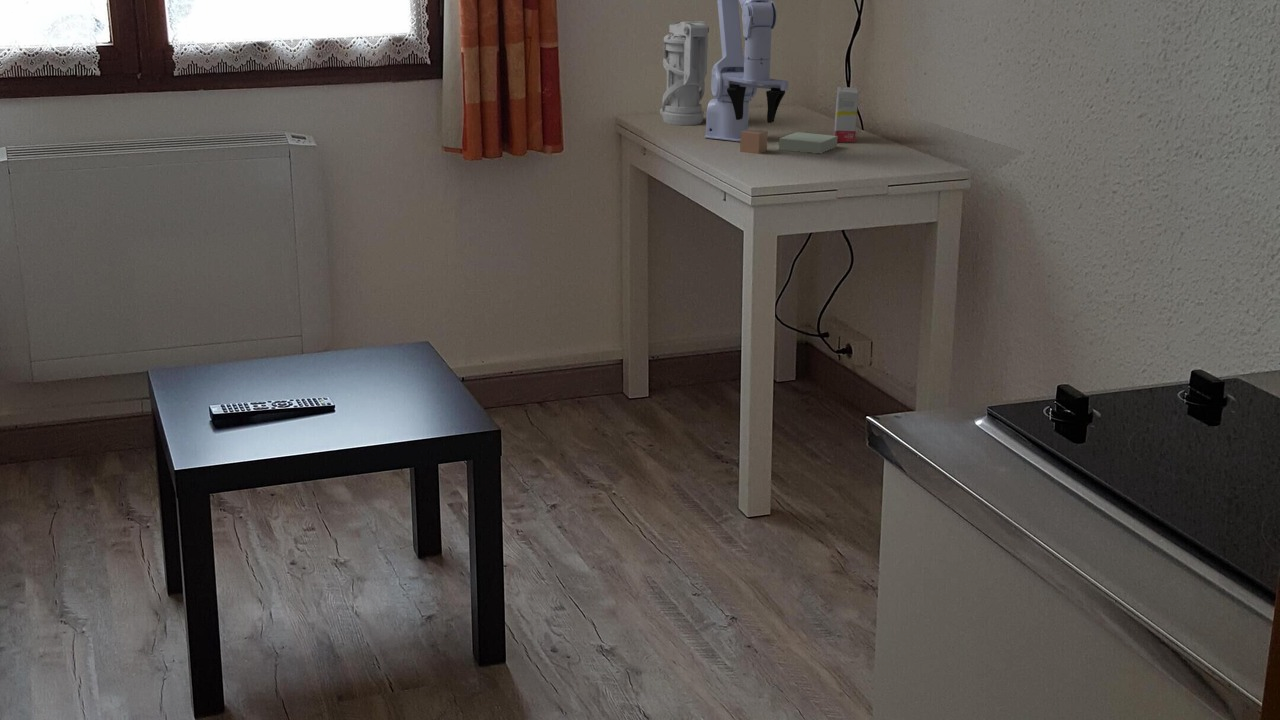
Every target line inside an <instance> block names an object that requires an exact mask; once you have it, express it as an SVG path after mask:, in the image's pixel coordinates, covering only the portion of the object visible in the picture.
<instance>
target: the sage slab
mask: <svg viewBox="0 0 1280 720" xmlns="http://www.w3.org/2000/svg"><path fill="white" fill-rule="evenodd" d="M834 147H836V148H838V142H837V136H834V135H830V134H822V133H819V134H818V133H810V132H809V133H808V132H800V131H796V132H793V133H790V134H787V135H785V136H783V137H779V139H778V150H782V151H789V152H790V151H792V152H798V151H800V153H807V152H812V153H811V154H816V153H821V154H823V153H822V152H824V153H826V152H828V151H827V150H829V149H831V150H833V149H835V148H834ZM832 148H833V149H832ZM825 151H826V152H825ZM829 151H830V150H829Z"/></svg>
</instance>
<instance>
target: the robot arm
mask: <svg viewBox="0 0 1280 720" xmlns="http://www.w3.org/2000/svg"><path fill="white" fill-rule="evenodd" d="M716 1H717V2H716V3H717V12H718V23H719V24H718V25H719V33H720V34H719V35H720V46H721V58H720V60H718V61H717V62H716V63H715V64H714V65H713V66H712V69H711V81H710V89H711V93H712V96H713V98H711V99H710V100H709V102H708V104H707V108H706V120H705V125H706V126H705V135H704V136H703V137H704V139H712V140H713V139H715V140H721V141H722V140H723V141H732V142H740V140H741V132H742V131H745V130H748V129H749V114H750V113H749V112H750V111H749V109H750V102H751V101H752V100H753V98H754V97H755V95H756V94H757V91H758V89H765V90H766V91H765V94H766V100H767V101H766V102H767V115H766V121H767V123H768V124H772V123H774V122H775V118H776V114H777V111H778V108H779V107H780V104H781V101H782V99H783V97H784V96H785V95H786V91H788V90H789V82H790V81H789V80H783V79H782V80H781V79H776V78H770V77H771V76H770V75H771V74H770V73H771V55H772V53H771V50H772V34H773V33H772V30H773V29H774V28H775V26H776V23H777V8H776V7H777V6H776V4H775V2H774V1H771V0H716ZM739 6H740V8H741V10H742V12H741V21H742V24H741V21H740V8H739ZM741 25H742V30H741ZM741 31H742V32H741ZM742 36H743V37H744V55H743V43H742ZM767 123H766V124H767Z"/></svg>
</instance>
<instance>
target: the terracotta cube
mask: <svg viewBox="0 0 1280 720" xmlns="http://www.w3.org/2000/svg"><path fill="white" fill-rule="evenodd" d="M768 132H769V131H768V130H762V129H761V130H759V129H751V128H748V130H745V131H742V132H741V140H740V141H739V143H740V145H739V152H740V153H746V154H757V155H758V154H762V153H764V152H767V151H768Z"/></svg>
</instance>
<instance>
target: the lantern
mask: <svg viewBox="0 0 1280 720" xmlns="http://www.w3.org/2000/svg"><path fill="white" fill-rule="evenodd" d="M707 23H708V22H707V21H699V20H698V21H695V20H693V21H678V22H674V23H670V24H669V29H668V30H669V31H668V32H669V33H668V34H666V35H664V37H663V52H662V55H663V58H662V59H663V60H662V66H663V68H664V70H665V71H666V90H665V91H664V93H663V94H662V97H661V98H662V105H661V108H660V109H659V114H660V115H662V119H663V120H662V121H663V123H665V124H668V125H675V126H696V125H701V124H702V123H703V121H704V120H703V119H704V115H705V113H704V112H705V111H703V109H702V106H703V104H701V103H700V102H701V100H702V99H703V97H704V95H705V89H706V88H705V79H706V76H707V75H708V72H707V71H708V46H709V45H708V43H709V42H708V41H709V40H708V39H709V38H708V37H709V32H710V27H709V25H707Z"/></svg>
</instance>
